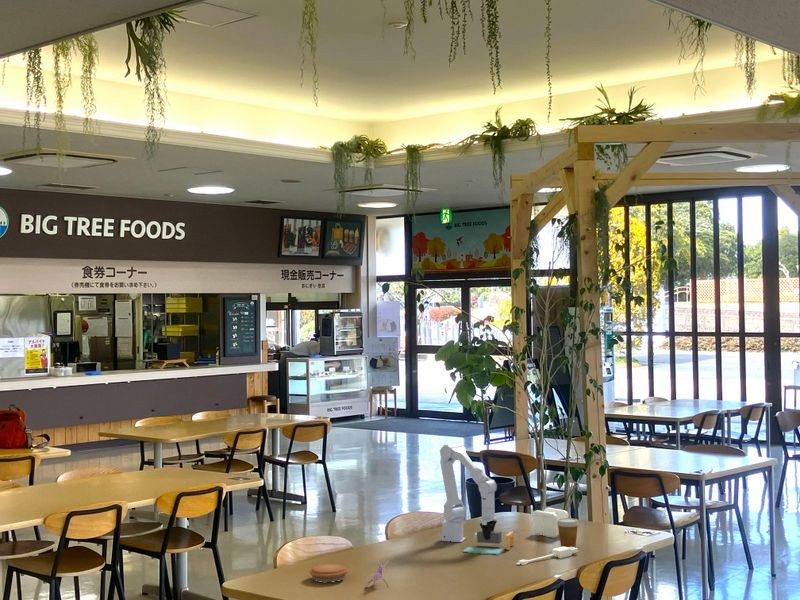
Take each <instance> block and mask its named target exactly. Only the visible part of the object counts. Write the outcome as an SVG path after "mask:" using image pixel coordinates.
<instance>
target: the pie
mask: <svg viewBox="0 0 800 600" xmlns="http://www.w3.org/2000/svg"><path fill="white" fill-rule="evenodd" d="M348 572H349V568H347V567H345V566H344V565H342V564H337V563H325V564H319V565H315V566H314V567H312V568H310V569H309V570H308V573H309V575H311V577H312V578H313V580H314V581H315V580H317V581H322V582H332V581H338V580H341V579H343V578H345V577H346V574H347V573H348ZM343 580H344V579H343Z"/></svg>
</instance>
